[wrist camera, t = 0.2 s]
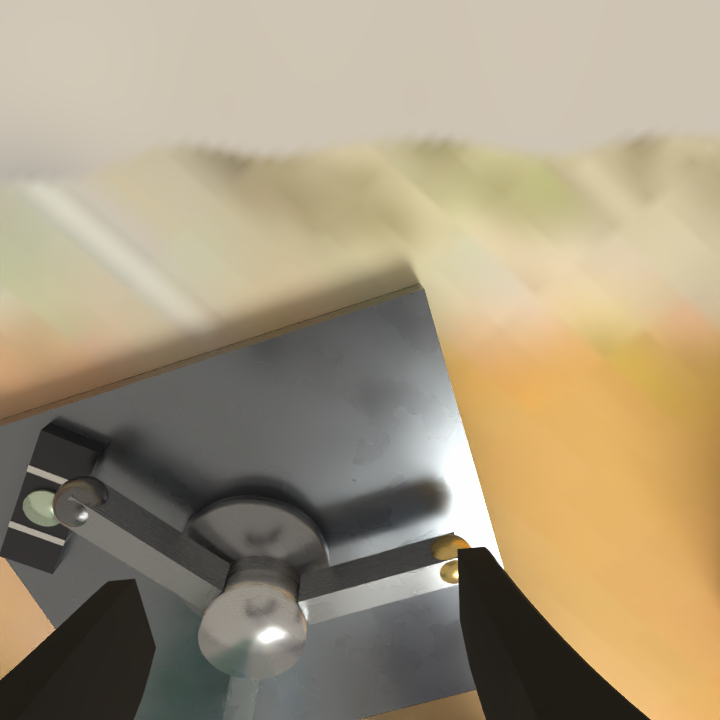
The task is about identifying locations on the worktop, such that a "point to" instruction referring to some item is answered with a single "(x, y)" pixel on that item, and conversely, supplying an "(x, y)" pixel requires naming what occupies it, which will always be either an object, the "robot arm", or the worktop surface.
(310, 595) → the capstan
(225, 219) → the worktop surface
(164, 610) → the plate
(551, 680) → the robot arm
